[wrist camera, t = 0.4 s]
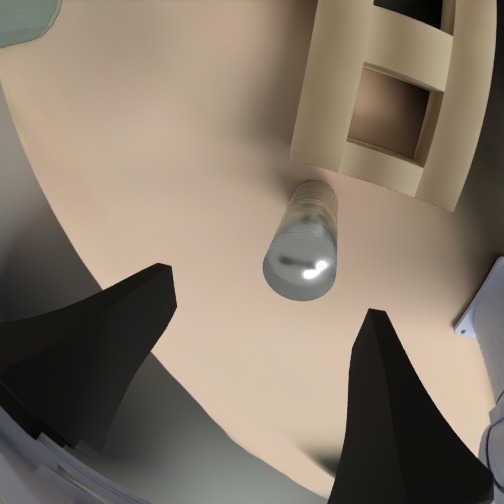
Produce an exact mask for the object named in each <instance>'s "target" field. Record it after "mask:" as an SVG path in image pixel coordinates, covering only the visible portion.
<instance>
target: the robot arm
mask: <svg viewBox="0 0 504 504" xmlns="http://www.w3.org/2000/svg"><path fill="white" fill-rule="evenodd" d="M176 308H177V302H176V295H175V288H174V281H173V274H172V266H169V265H165V264H161V263H156V264H154V265H152V266H150V267H148V268H146V269H144V270H142V271H140V272H138V273H136V274H134V275H132V276H130V277H128V278H126V279H124V280H122V281H120V282H119V283H117V284H115V285H113V286H111V287H109V288H107V289H105V290H103V291H101V292H99V293H96V294H94V295H92V296H90V297H88V298H86V299H84V300H82V301H79V302H77V303H74V304H72V305H69V306H66V307H64V308H61V309H58V310H55V311H51V312H48V313H45V314H42V315H38V316H34V317H30V318H26V319H20V320H15V321H8V322H0V496H1V497H2V499H3V500H4V502H5V503H6V504H106V502H105V501H104V500H102V499H101V498H100V497H98V496H97V495H96V494H94V493H93V492H91V491H90V490H88V489H87V488H85V487H83V486H82V485H80V484H78V483H76V482H75V481H73V480H71V479H70V478H68V477H67V472H69V473H70V474H71V475H73V476H74V477H75V478H77V479H78V480H79V481H81V482H82V483H84V484H85V485H87V486H88V487H90V488H91V489H93V490H94V491H96V492H97V493H99V494H101V495H102V496H104V497H105V498H107V499H109V500H110V501H112V502H114V503H115V504H153V503H151V502H149V501H147V500H145V499H143V498H141V497H139V496H137V495H135V494H133V493H131V492H129V491H128V490H126V489H124V488H122V487H120V486H118V485H117V484H115V483H113V482H112V481H110V480H108V479H106V478H105V477H103V476H102V475H100V474H98V473H97V472H95V471H94V470H92V469H91V468H89V467H88V466H86V465H85V464H83V463H82V462H80V461H79V460H77V459H76V458H75V457H73V456H72V455H70V454H69V453H68V452H66V451H65V450H64V449H63V447H64V446H65V444H66V445H67V446H69V447H70V448H72V449H74V448H75V447H76V446H77V447H78V448H79V449H81V450H82V451H84V452H85V453H87V454H88V455H90V456H91V457H99V456H101V454H102V450H103V447H104V444H105V441H106V437H107V435H108V432H109V429H110V426H111V424H112V421H113V418H114V416H115V414H116V411H117V409H118V407H119V405H120V403H121V400H122V398H123V396H124V394H125V392H126V390H127V388H128V386H129V384H130V382H131V380H132V378H133V377H134V375H135V373H136V372H137V370H138V368H139V367H140V366H141V364H142V363H143V361H144V360H145V358H146V357H147V355H148V354H149V353H150V351H151V350H152V348H153V347H154V345H155V344H156V343H157V341H158V340H159V338H160V337H161V335H162V334H163V332H164V331H165V329H166V328H167V326H168V324H169V322H170V320H171V318H172V316H173V314H174V312H175V310H176ZM454 333H455V334H457V335H461V336H465V337H470V338H474V339H477V340H478V343H479V346H480V349H481V352H482V355H483V358H484V362H485V365H486V369H487V372H488V376H489V379H490V383H491V387H492V391H493V395H494V400H495V404H496V406H495V407H494V408H493V409H492V410H491V411H490V412H489V417H490V422H491V424H490V425H488V427H487V428H486V429H485V431H484V432H483V435H482V438H481V442H480V447H479V454H478V458H477V457H476V456H475V455H474V454H473V453H472V452H471V451H470V450H469V449H468V447H467V446H466V445H465V444H464V443H463V442H462V440H461V439H460V438H459V437H458V436H457V434H456V433H455V432H454V431H453V429H452V428H451V426H450V425H449V424H448V422H447V421H446V420H445V418H444V417H443V416H442V414H441V413H440V411H439V410H438V408H437V407H436V405H435V404H434V402H433V401H432V399H431V397H430V396H429V394H428V393H427V391H426V389H425V388H424V386H423V384H422V383H421V381H420V379H419V377H418V375H417V374H416V372H415V370H414V368H413V366H412V364H411V362H410V360H409V358H408V356H407V354H406V352H405V350H404V348H403V346H402V344H401V342H400V340H399V338H398V336H397V334H396V332H395V330H394V328H393V325H392V323H391V321H390V319H389V317H388V315H387V313H386V311H382V310H376V309H371V308H369V309H368V312H367V314H366V317H365V319H364V322H363V324H362V326H361V329H360V331H359V333H358V336H357V338H356V340H355V343H354V345H353V347H352V353H351V360H350V368H349V383H348V406H347V423H346V432H345V439H344V444H343V449H342V454H341V458H340V462H339V466H338V470H337V474H336V478H335V481H334V485H333V488H332V491H331V494H330V497H329V500H328V503H327V504H491V503H492V501H493V500H495V503H496V504H504V257H502V256H501V257H499V258H498V259H497V260H496V262H495V264H494V266H493V268H492V270H491V271H490V273H489V275H488V277H487V278H486V280H485V282H484V283H483V285H482V287H481V288H480V290H479V291H478V293H477V295H476V296H475V298H474V299H473V301H472V302H471V304H470V305H469V307H468V308H467V310H466V311H465V313H464V314H463V316H462V317H461V319H460V320H459V321H458V323H457V324H456V326H455V327H454ZM66 471H67V472H66Z"/></svg>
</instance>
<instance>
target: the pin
mask: <svg viewBox="0 0 504 504" xmlns="http://www.w3.org/2000/svg"><path fill="white" fill-rule="evenodd" d="M337 233H338V200H337V196H336V194H335V192H334V190H333V189H332V188H331V187H330V186H329V185H327V184H325V183H323V182H321V181H307V182H304V183H302V184H301V185H300V186H298V187H297V189H296V190H295V191H294V193H293V196H292V198H291V200H290V202H289V205H288V207H287V209H286V211H285V214H284V216H283V218H282V220H281V223H280V225H279V227H278V229H277V232H276V234H275V236H274V238H273V240H272V243H271V245H270V247H269V249H268V252H267V254H266V256H265V258H264V262H263V273H264V277H265V279H266V281H267V283H268V284H269V286H270V287H271V288H272V289H273V290H274V291H275V292H277V293H278V294H279V295H281V296H283V297H285V298H288V299H291V300H296V301H309V300H314V299H317V298H319V297H321V296H323V295H324V294H326V293H327V292H328V291H329V290H330V289H331V287H332V286H333V284H334V281H335V278H336V263H337Z"/></svg>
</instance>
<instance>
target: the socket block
mask: <svg viewBox="0 0 504 504" xmlns="http://www.w3.org/2000/svg"><path fill="white" fill-rule="evenodd" d="M373 2H374V0H318V4H317V10H316V15H315V21H314V27H313V32H312V38H311V43H310V49H309V54H308V59H307V65H306V70H305V75H304V81H303V86H302V91H301V96H300V101H299V106H298V112H297V117H296V122H295V127H294V132H293V137H292V142H291V147H290V152H289V156H288V159H289V160H293V161H297V162H301V163H305V164H309V165H313V166H317V167H320V168H324V169H328V170H331V171H335V172H338V173H342V174H345V175H348V176H352V177H355V178H358V179H361V180H364V181H368V182H371V183H374V184H377V185H380V186H383V187H386V188H389V189H392V190H394V191H397V192H400V193H403V194H406V195H408V196H411V197H414V198H416V199H419V200H422V201H424V202H427V203H429V204H432V205H435V206H437V207H439V208H442V209H444V210H447V211H449V212H452V213H453V212H454V209H455V207H456V204H457V202H458V199H459V197H460V194H461V191H462V189H463V186H464V183H465V180H466V177H467V175H468V172H469V169H470V166H471V162H472V159H473V156H474V153H475V149H476V146H477V142H478V139H479V135H480V131H481V127H482V123H483V119H484V115H485V110H486V105H487V100H488V95H489V90H490V84H491V77H492V70H493V62H494V53H495V40H496V0H443V6H442V18H441V28H440V30H439V29H436V28H434V27H432V26H430V25H427V24H425V23H423V22H420V21H418V20H415V19H413V18H410V17H407V16H405V15H402V14H399V13H396V12H393V11H390V10H387V9H384V8H381V7H378V6H374V5H373ZM362 68H366V69H369V70H372V71H376V72H379V73H382V74H385V75H388V76H390V77H393V78H396V79H399V80H402V81H404V82H407V83H409V84H412V85H414V86H417V87H419V88H422V89H424V90H426V91H429V92H430V95H429V100H428V104H427V108H426V112H425V117H424V121H423V124H422V128H421V132H420V136H419V139H418V143H417V146H416V150H415V153H414V157H413V159H412V158H409V157H407V156H404V155H401V154H399V153H396V152H393V151H390V150H388V149H385V148H382V147H379V146H376V145H373V144H370V143H367V142H363V141H360V140H357V139H354V138H350V137H347V136H348V132H349V127H350V123H351V119H352V115H353V110H354V106H355V101H356V97H357V92H358V87H359V83H360V78H361V73H362Z"/></svg>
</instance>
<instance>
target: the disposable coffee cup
mask: <svg viewBox="0 0 504 504" xmlns="http://www.w3.org/2000/svg"><path fill="white" fill-rule="evenodd" d="M61 3H62V0H0V48H4V47H7V46H11V45H15V44H19V43H23V42H27V41H30V40H33V39H35V38H38V37H39V36H42V35H44V33H45V32H46V31H47V30H48V29H49V28H50V27H51V26H52V24H53V22H54V20H55V18H56V16H57V15H58V13H59V11H60V7H61Z"/></svg>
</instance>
